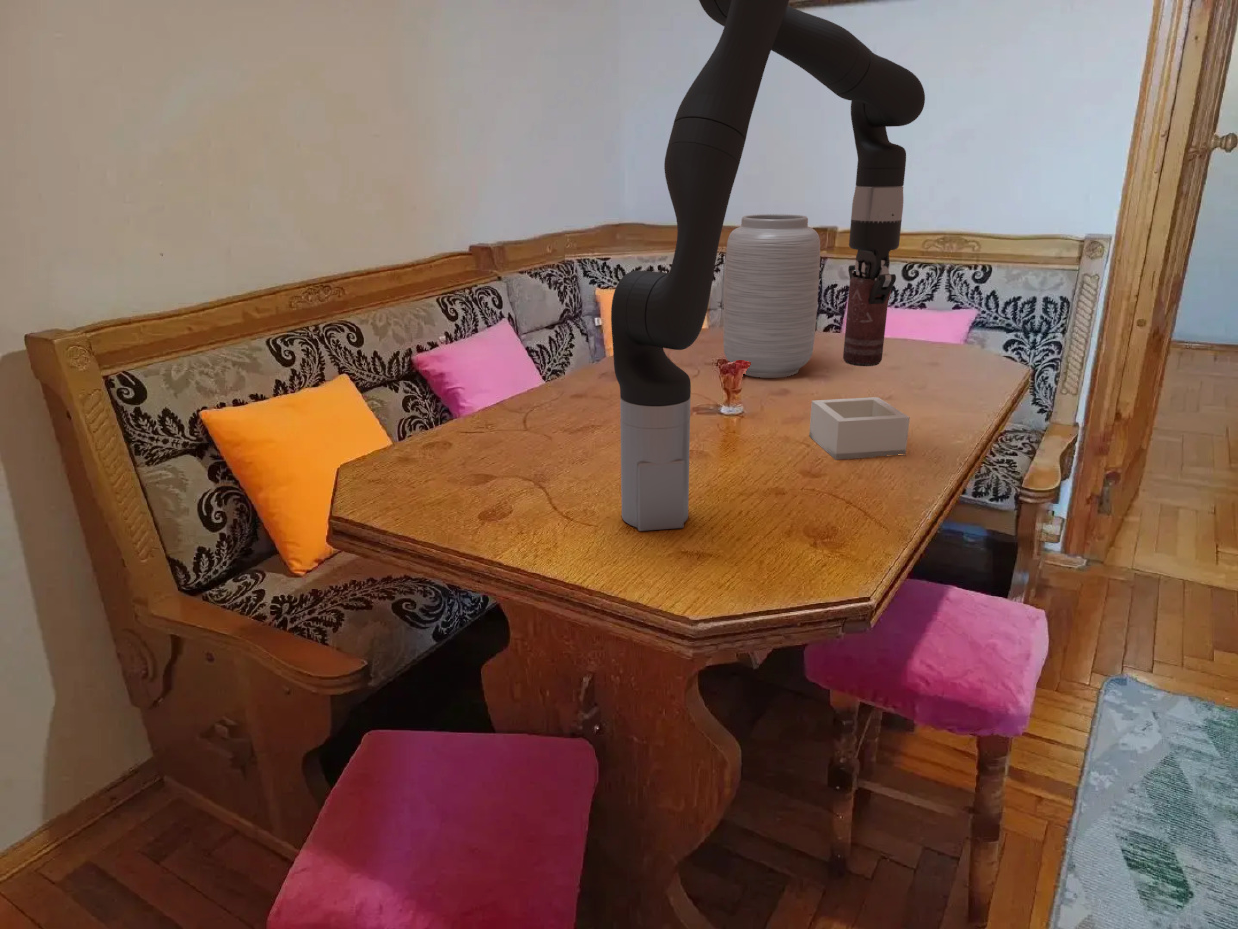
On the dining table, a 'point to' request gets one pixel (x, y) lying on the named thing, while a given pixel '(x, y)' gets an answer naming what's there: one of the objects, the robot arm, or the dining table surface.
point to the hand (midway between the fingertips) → (865, 328)
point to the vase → (771, 294)
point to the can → (864, 325)
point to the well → (858, 427)
